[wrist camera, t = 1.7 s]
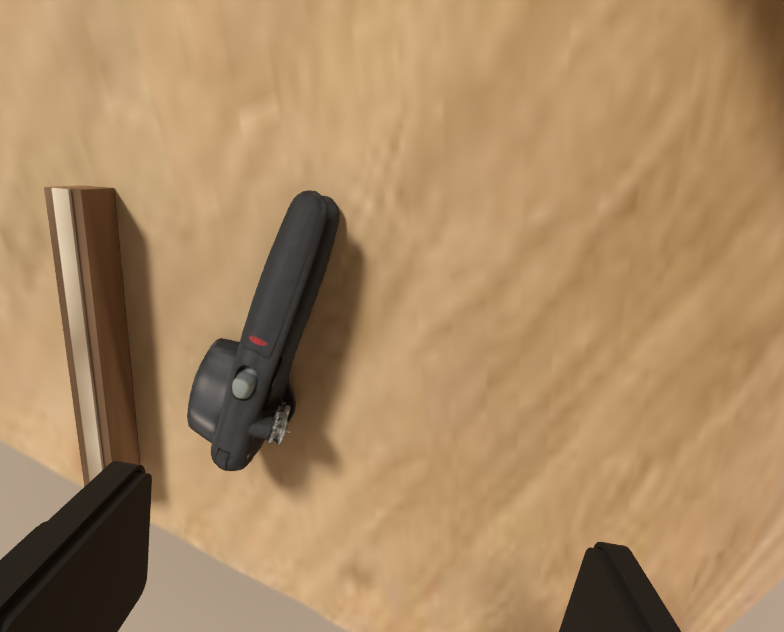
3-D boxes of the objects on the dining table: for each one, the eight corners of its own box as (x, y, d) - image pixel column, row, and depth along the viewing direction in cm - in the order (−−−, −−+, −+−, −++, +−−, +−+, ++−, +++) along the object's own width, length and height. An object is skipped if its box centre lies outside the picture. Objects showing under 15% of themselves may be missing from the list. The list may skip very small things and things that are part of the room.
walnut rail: (114, 188, 29) (78, 189, 26) (140, 463, 34) (112, 492, 31) (81, 185, 29) (41, 187, 26) (112, 461, 34) (82, 489, 31)
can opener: (282, 451, 34) (258, 504, 28) (189, 412, 33) (145, 459, 28) (385, 217, 29) (379, 227, 23) (277, 167, 28) (245, 166, 23)
